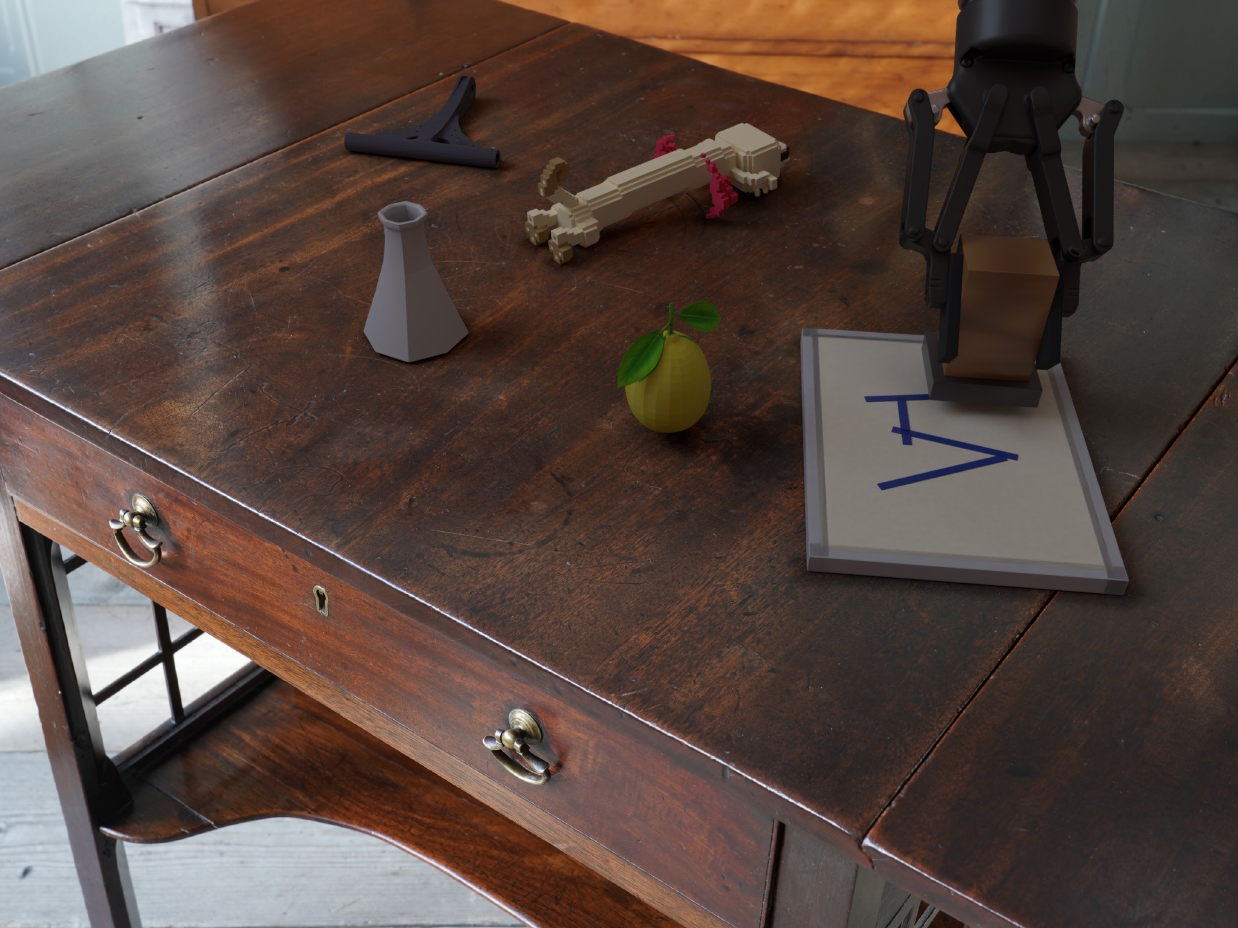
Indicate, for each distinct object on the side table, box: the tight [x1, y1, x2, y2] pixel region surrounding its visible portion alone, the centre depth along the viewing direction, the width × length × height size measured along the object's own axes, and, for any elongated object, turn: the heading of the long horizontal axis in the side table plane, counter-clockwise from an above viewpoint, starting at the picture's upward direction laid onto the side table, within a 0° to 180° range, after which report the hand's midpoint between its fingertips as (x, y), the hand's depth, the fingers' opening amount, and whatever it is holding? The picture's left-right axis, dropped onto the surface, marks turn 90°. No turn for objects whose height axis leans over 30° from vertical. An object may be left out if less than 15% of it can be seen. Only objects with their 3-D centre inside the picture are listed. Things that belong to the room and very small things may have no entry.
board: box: [799, 327, 1130, 596], centre depth 79 cm, size 18×24×1 cm
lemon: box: [617, 299, 722, 434], centre depth 78 cm, size 7×6×10 cm
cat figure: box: [524, 122, 790, 265], centre depth 101 cm, size 10×9×25 cm
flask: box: [363, 200, 469, 363], centre depth 86 cm, size 7×7×10 cm
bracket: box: [343, 74, 501, 169], centre depth 116 cm, size 14×15×3 cm
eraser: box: [921, 233, 1060, 408], centre depth 79 cm, size 7×6×10 cm
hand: (997, 362), depth 77 cm, fingers closed on eraser, 5 cm apart
